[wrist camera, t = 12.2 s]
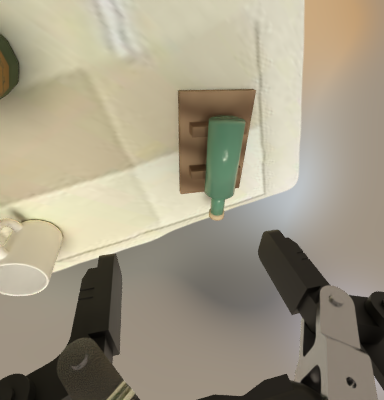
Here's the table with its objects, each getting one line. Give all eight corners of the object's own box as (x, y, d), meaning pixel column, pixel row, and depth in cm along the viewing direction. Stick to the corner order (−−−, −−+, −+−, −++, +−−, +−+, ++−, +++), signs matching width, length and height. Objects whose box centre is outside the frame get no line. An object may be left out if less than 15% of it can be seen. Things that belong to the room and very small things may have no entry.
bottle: (204, 116, 33) (214, 127, 29) (237, 114, 34) (251, 125, 30) (199, 208, 43) (206, 226, 39) (225, 205, 44) (234, 223, 40)
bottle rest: (178, 90, 33) (182, 95, 30) (252, 89, 35) (263, 93, 32) (179, 190, 44) (183, 201, 41) (236, 184, 46) (243, 194, 43)
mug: (-15, 212, 38) (-56, 260, 29) (31, 196, 38) (4, 240, 30) (33, 254, 45) (12, 302, 37) (72, 241, 45) (59, 285, 37)
